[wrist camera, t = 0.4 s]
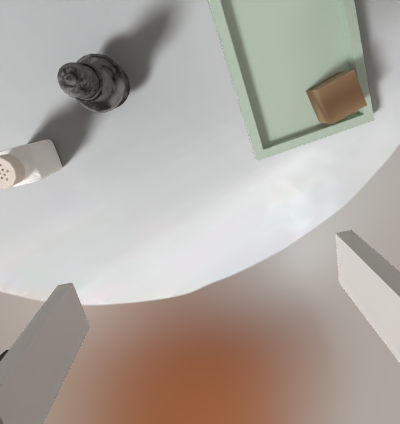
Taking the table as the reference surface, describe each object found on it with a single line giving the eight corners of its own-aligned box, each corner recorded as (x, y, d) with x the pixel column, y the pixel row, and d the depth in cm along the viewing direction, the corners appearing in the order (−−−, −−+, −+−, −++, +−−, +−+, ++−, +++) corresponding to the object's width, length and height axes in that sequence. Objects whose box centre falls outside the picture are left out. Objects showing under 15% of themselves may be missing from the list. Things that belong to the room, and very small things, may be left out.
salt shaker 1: (36, 175, 41) (-10, 196, 32) (23, 145, 40) (-29, 158, 31) (65, 168, 41) (27, 187, 32) (53, 137, 39) (9, 148, 30)
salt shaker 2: (107, 46, 36) (65, 21, 25) (142, 90, 38) (117, 85, 26) (71, 80, 37) (14, 72, 26) (106, 121, 39) (66, 130, 27)
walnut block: (305, 91, 37) (317, 89, 33) (338, 72, 36) (354, 69, 32) (318, 122, 38) (331, 124, 34) (350, 104, 37) (367, 105, 34)
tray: (195, -41, 33) (195, -49, 31) (327, -97, 32) (335, -110, 30) (254, 157, 40) (257, 160, 38) (365, 119, 39) (374, 120, 37)
